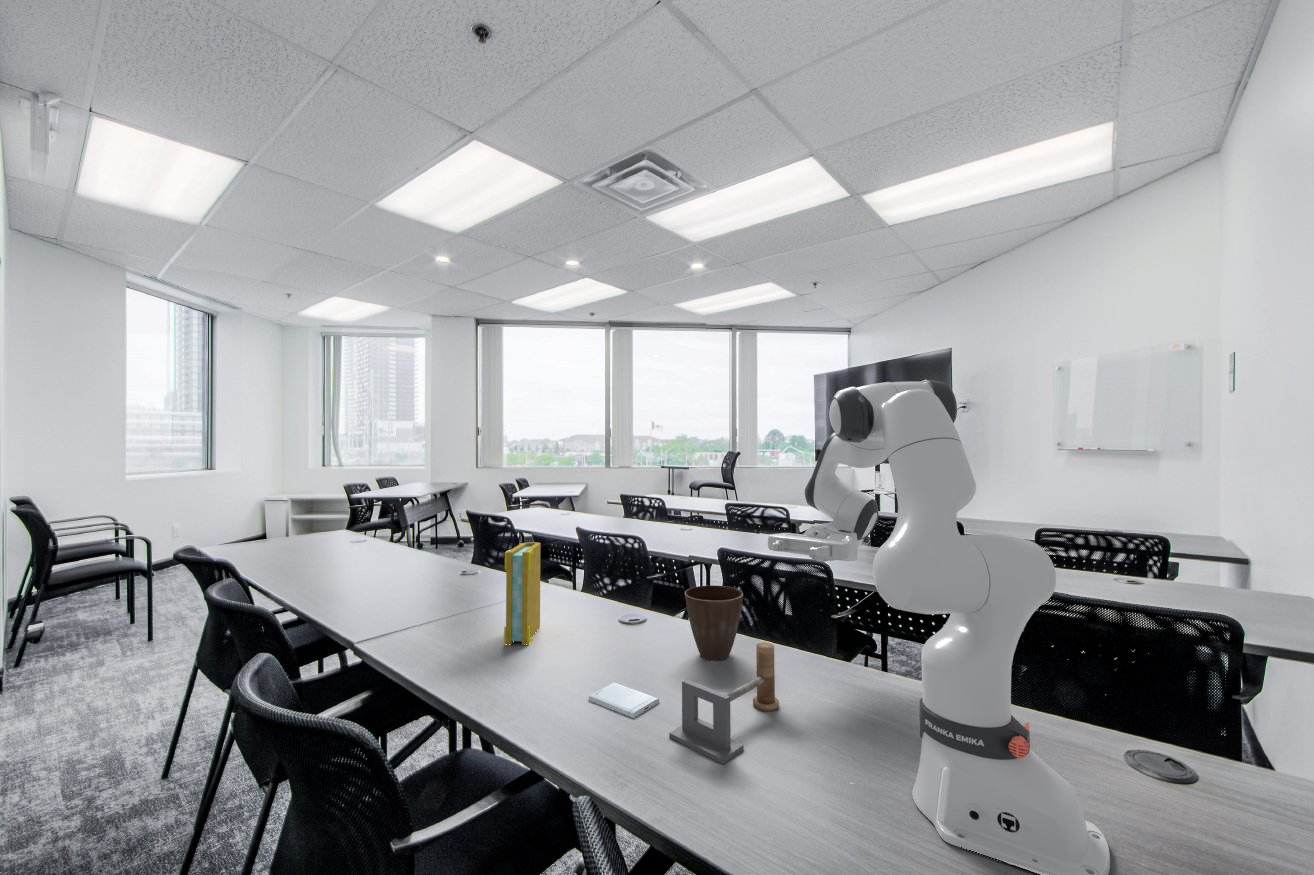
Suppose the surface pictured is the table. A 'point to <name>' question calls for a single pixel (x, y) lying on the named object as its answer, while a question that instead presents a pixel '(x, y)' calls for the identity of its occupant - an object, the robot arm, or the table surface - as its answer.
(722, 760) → the grey square frame stand
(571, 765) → the table surface
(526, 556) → the book
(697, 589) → the plant pot
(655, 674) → the table surface
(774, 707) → the hammer
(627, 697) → the hard drive
